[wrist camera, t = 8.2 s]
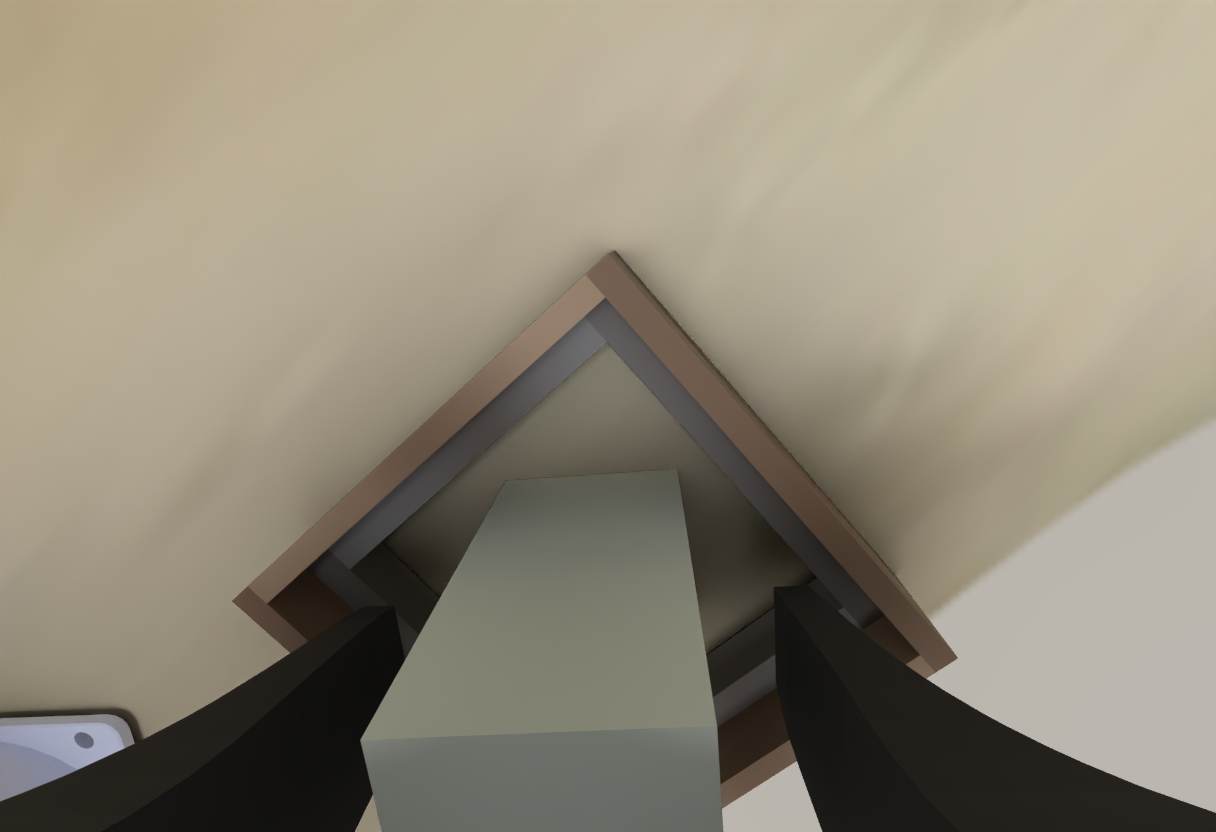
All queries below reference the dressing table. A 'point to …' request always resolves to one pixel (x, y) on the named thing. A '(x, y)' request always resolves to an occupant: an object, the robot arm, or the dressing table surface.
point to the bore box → (712, 415)
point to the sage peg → (558, 674)
